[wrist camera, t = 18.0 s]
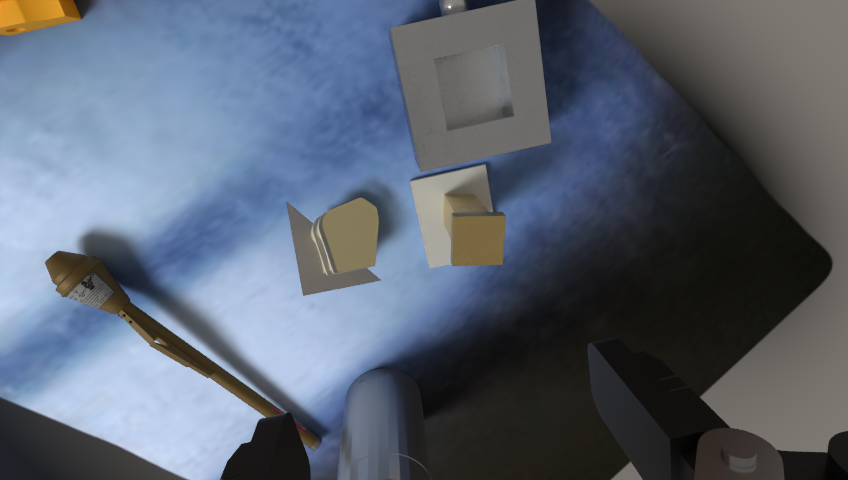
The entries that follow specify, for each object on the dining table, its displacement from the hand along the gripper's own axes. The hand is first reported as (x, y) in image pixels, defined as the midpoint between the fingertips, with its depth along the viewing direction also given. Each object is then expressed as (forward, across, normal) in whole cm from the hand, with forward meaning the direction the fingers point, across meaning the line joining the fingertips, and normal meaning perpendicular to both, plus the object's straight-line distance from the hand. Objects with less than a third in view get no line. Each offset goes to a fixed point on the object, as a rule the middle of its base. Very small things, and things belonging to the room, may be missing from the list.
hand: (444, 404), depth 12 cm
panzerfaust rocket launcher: (+39, +26, +16) cm, 49 cm away
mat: (+38, -5, +7) cm, 39 cm away
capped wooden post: (+38, -5, +6) cm, 38 cm away
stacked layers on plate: (+38, +8, +7) cm, 40 cm away
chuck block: (+38, -8, -6) cm, 39 cm away
